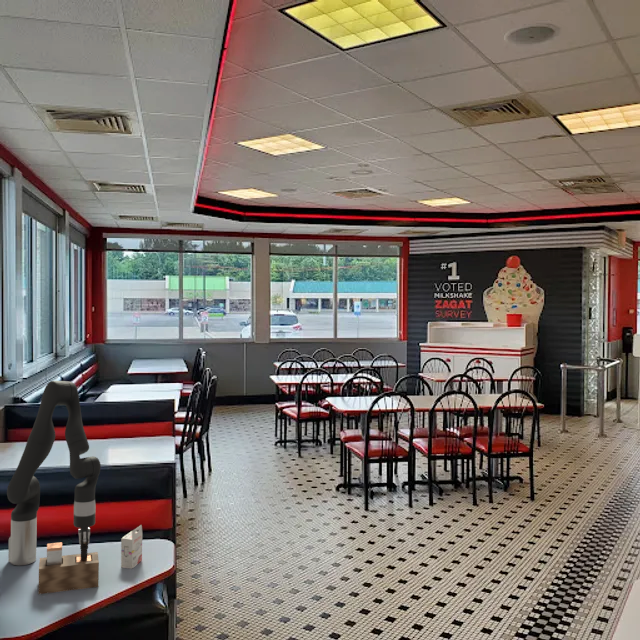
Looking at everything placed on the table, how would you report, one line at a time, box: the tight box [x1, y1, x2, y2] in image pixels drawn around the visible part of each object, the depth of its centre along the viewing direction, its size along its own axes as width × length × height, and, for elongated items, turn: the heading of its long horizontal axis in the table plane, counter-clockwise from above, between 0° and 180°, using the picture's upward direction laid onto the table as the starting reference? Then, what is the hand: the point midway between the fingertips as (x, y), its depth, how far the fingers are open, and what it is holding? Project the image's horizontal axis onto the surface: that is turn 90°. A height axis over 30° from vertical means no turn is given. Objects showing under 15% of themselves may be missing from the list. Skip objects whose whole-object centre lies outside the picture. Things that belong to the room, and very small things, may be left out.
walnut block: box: [37, 551, 100, 595], centre depth 241 cm, size 20×10×9 cm, turn 111°
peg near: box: [46, 542, 63, 566], centre depth 239 cm, size 5×5×9 cm
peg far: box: [76, 555, 91, 563], centre depth 242 cm, size 5×5×9 cm
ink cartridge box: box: [120, 524, 143, 570], centre depth 260 cm, size 9×5×15 cm, turn 168°
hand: (83, 558), depth 242 cm, fingers closed
